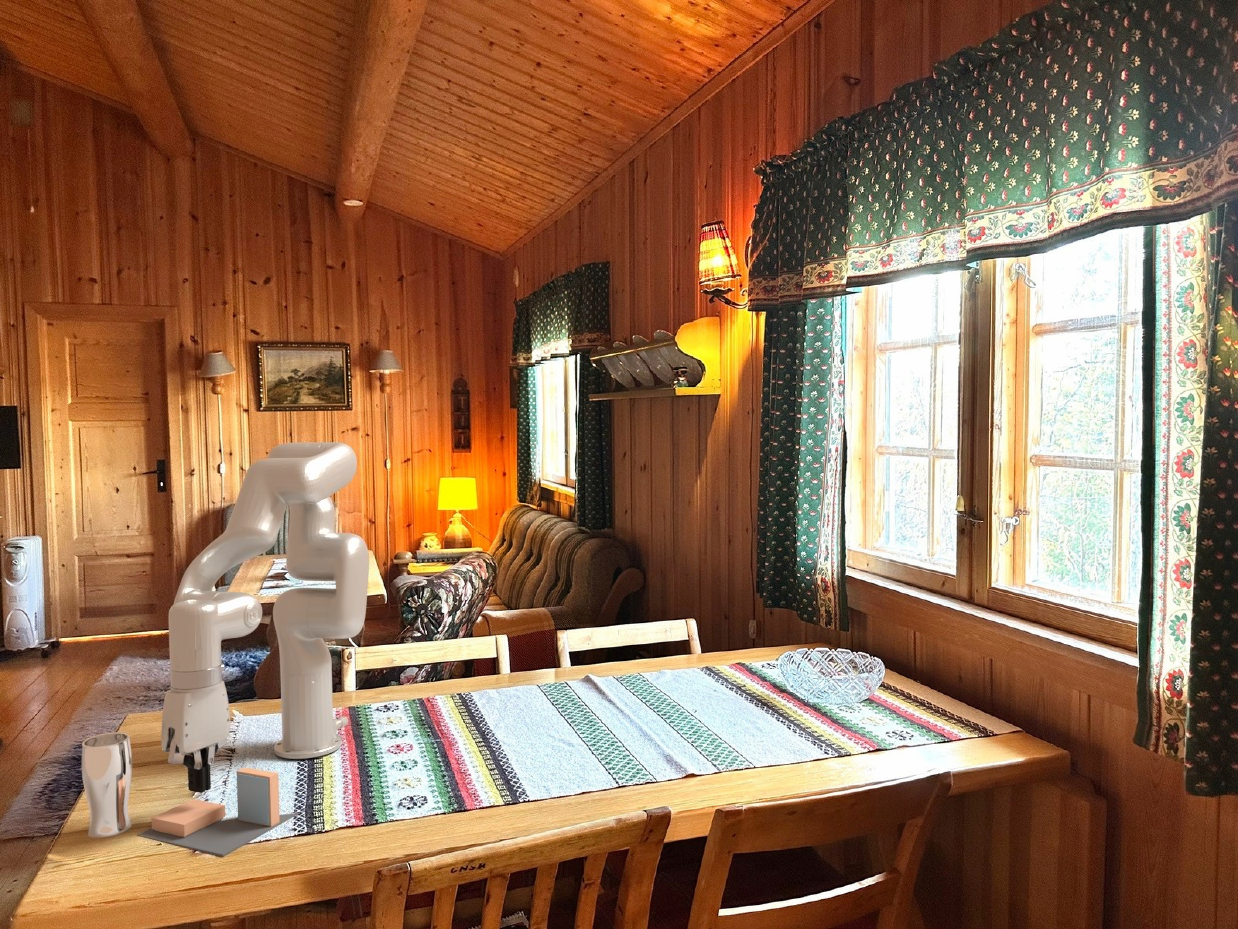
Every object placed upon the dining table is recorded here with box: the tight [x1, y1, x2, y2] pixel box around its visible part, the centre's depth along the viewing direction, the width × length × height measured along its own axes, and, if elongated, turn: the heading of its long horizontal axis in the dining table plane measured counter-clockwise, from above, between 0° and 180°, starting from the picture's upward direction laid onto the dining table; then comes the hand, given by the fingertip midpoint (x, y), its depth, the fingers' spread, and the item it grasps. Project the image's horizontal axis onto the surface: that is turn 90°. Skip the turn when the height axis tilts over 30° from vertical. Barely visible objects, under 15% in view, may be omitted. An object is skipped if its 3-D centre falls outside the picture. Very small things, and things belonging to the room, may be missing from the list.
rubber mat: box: [137, 812, 300, 858], centre depth 149 cm, size 18×18×1 cm
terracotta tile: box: [151, 798, 226, 837], centre depth 148 cm, size 2×7×8 cm
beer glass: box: [81, 731, 133, 838], centre depth 146 cm, size 7×7×15 cm
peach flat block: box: [236, 766, 281, 827], centre depth 148 cm, size 2×7×8 cm, turn 66°
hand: (199, 790), depth 149 cm, fingers closed
